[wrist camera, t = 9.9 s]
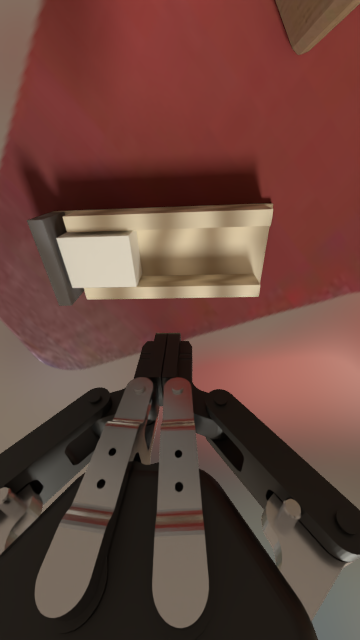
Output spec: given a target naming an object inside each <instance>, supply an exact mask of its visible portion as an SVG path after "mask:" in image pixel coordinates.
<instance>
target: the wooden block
mask: <svg viewBox="0 0 360 640" xmlns="http://www.w3.org/2000/svg"><path fill="white" fill-rule="evenodd" d="M275 1H276V4H277V7H278V10H279V12H280V15H281V18H282V21H283V24H284V27H285V29H286V32H287V35H288V38H289V41H290V44H291V46H292V49H293V50H294V51H295V52H296V54H297V55H300V54H303V53H306V52H308V51H310V50H311V49H312V48H313V47H314V46H315V45H316V44H317V43H318V42H319V41H320V40H321V39H322V38H323V37H325V36H326V35H327V34H328V33H329V32H330V31H331V30H332V29H333V28H334V27H335V26H336V25H337V24H338V23H340V22H341V21H342V20H343V19H344V18H345V17H346V16H347V15H348V14H349V13H350V12H351V11H352V10H353V9H355V8H356V7H357V6H358V5H359V4H360V0H275Z"/></svg>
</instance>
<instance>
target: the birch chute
mask: <svg viewBox="0 0 360 640" xmlns="http://www.w3.org/2000/svg"><path fill="white" fill-rule="evenodd" d="M272 208H273V204H272V203H264V204H237V205H210V206H182V207H155V208H128V209H101V210H74V211H53V212H50V213H47V214H44V215H41V216H38V217H35V218H33V219H30V220H27V222H28V225H29V227H30V230H31V233H32V235H33V238H34V240H35V243H36V246H37V248H38V251H39V254H40V256H41V259H42V261H43V264H44V267H45V269H46V272H47V275H48V277H49V280H50V282H51V285H52V288H53V290H54V293H55V296H56V298H57V301H58V303H59V306H66V305H73V303H74V302H75V301H76V300H77V299H78V297H79V296H80V295H81V294H82V293H83V291H85V294H86V297H87V299H144V298H204V297H259V291H260V279H261V273H262V267H263V261H264V255H265V250H266V244H267V238H268V232H269V226H271V221H272V215H273V209H272ZM125 230H136V232H137V239H138V246H139V254H140V261H141V268H142V276H141V278H140V280H139V283H138V285H137V287H101V288H72V285H71V282H70V279H69V276H68V273H67V270H66V267H65V264H64V261H63V258H62V255H61V252H60V249H59V246H58V242H57V239H56V238H57V237H59V236H61V235H63V234H64V233H66V232H94V231H125Z"/></svg>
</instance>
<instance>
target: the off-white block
mask: <svg viewBox="0 0 360 640" xmlns="http://www.w3.org/2000/svg"><path fill="white" fill-rule="evenodd" d="M56 239H57V242H58V246H59V249H60V252H61V255H62V258H63V261H64V264H65V267H66V270H67V273H68V276H69V279H70V282H71V285H72V288H101V287H137V285H138V283H139V280H140V278H141V276H142V268H141V261H140V254H139V246H138V239H137V232H136V230H125V231H94V232H66V233H64V234H63V235H61V236H59V237H57V238H56Z"/></svg>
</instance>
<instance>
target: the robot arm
mask: <svg viewBox="0 0 360 640" xmlns="http://www.w3.org/2000/svg"><path fill="white" fill-rule="evenodd" d="M159 406H163V421H162V424H161V432H160V434H161V435H160V454H159V463H155V464H151V465H150V457H151V450H152V446H153V442H154V437H155V432H156V428H157V423H158V413H159ZM196 433H198V434H200V435H203V436H205V437H206V439H207V441H208V442H209V443H210V444H211V446H212V447H213V448H214V449H215V451H216V452H217V453H218V454H219V455H220V457H221V458H222V459H223V460H224V461H225V463H226V464H227V465H228V466H229V468H230V469H231V470H232V471H233V472H234V474H235V475H236V476H237V477H238V478H239V480H240V481H241V482H242V483H243V485H244V486H245V487H246V488H247V489H248V490H249V492H250V493H251V494H252V495H253V497H254V498H255V499H256V500H257V501H258V503H259V504H260V505H261V506H262V508H263V509H264V511H263V513H262V519H261V521H262V527H263V531H264V534H265V536H266V537H267V539H268V541H269V542H270V544H271V546H272V548H273V551H274V554H275V559H276V565H275V563H274V562H273V560H272V559H271V558H270V556H269V555H268V553H267V552H266V550H265V549H264V548H263V546H262V545H261V543H260V542H259V540H258V539H257V537H256V536H255V535H254V533H253V532H252V530H251V529H250V527H249V526H248V524H247V523H246V522H245V520H244V519H243V518H242V516H241V515H240V513H239V512H238V510H237V509H236V507H235V506H234V504H233V503H232V502H231V500H230V499H229V497H228V496H227V494H226V493H225V492H224V490H223V489H222V487H221V486H220V485H219V483H218V482H217V481H216V480H215V479H214V478H213V477H212V476H210V475H209V474H208V473H206V472H205V471H203V470H201V469H199V466H198V454H197V443H196ZM89 462H90V463H89ZM88 463H89V465H88V467H87V470H86V472H85V473H84V474H82V475H81V476H80V477H79V478H78V479H76V480H75V482H73V483H72V484H71V485H70V486H69V487H68V488H67V489H66V490H65V492H63V493H62V494H61V495H60V496H59V497H58V498H57V499H56V500H55V501H54V502H53V503H52V504H51V505H50V506H49V507H48V508H47V509H46V510H45V511H44V512H43V513H42V514H41V512H42V508H43V505H44V504H45V503H46V502H47V501H48V500H49V499H50V498H51V497H52V496H54V494H56V492H58V491H59V490H60V489H61V488H62V487H63V486H64V485H65V484H66V483H67V482H69V481H70V480H71V479H72V478H73V477H74V476H75V475H76V474H77V473H78V472H79V471H80V470H81V469H83V468H84V467H85V466H86V465H87V464H88ZM358 558H360V510H359V509H358V508H357V507H356V506H354V505H353V504H352V503H351V502H350V501H349V500H348V499H346V497H344V496H343V495H342V494H341V493H340V492H339V491H338V490H337V489H336V488H334V487H333V486H332V485H331V484H330V483H329V482H328V481H327V480H326V479H325V478H324V477H322V476H321V475H320V474H319V473H318V472H317V471H316V470H315V469H313V468H312V467H311V466H310V465H309V464H308V463H307V462H306V461H305V460H304V459H302V458H301V457H300V456H299V455H298V454H297V453H296V452H295V451H294V450H292V449H291V448H290V447H289V446H288V445H287V444H286V443H285V442H284V441H283V440H281V439H280V438H279V437H278V436H277V435H276V434H275V433H274V432H273V431H271V430H270V429H269V428H268V427H267V426H266V425H265V424H264V423H263V422H261V421H260V420H259V419H258V418H257V417H256V416H255V415H254V414H253V413H252V412H250V411H249V410H248V409H247V408H246V407H245V406H244V405H243V404H241V402H239V401H238V400H237V399H236V398H235V397H234V396H233V395H232V394H230V393H229V392H227V391H225V390H220V389H217V390H213V391H211V392H210V393H207V392H204V391H201V390H199V389H197V388H196V387H195V386H194V384H193V383H192V346H191V344H190V343H189V341H181V335H180V333H156V335H155V339H154V341H147V342H146V344H145V345H144V346H143V347H142V351H141V355H140V359H139V362H138V365H137V369H136V373H135V376H134V379H133V380H131V381H130V382H129V383H128V384H127V386H126V388H125V389H122V390H119V391H116V392H112V393H109V391H108V390H107V389H105V388H94V389H92V390H90V391H88V392H87V393H85V394H84V395H83V396H81V397H80V398H78V399H77V400H76V401H74V402H73V403H71V404H70V405H68V406H67V407H66V408H64V409H63V410H62V411H60V412H59V413H57V414H56V415H54V416H53V417H52V418H50V419H49V420H48V421H46V422H45V423H43V424H42V425H40V426H39V427H38V428H36V429H35V430H33V431H32V432H31V433H29V434H28V435H26V436H25V437H24V438H22V439H21V440H19V441H18V442H16V443H15V444H14V445H12V446H11V447H9V448H8V449H7V450H5V451H4V452H2V453H1V454H0V640H318V639H317V636H316V633H315V630H314V627H313V624H312V620H313V618H314V616H315V615H316V613H317V611H318V610H319V608H320V606H321V604H322V603H323V601H324V599H325V598H326V596H327V594H328V592H329V590H330V589H331V587H332V586H333V584H334V582H335V580H336V579H337V577H338V575H339V573H340V572H341V570H342V569H343V568H344V567H346V566H347V565H349V564H351V563H352V562H354V561H355V560H357V559H358Z"/></svg>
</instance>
